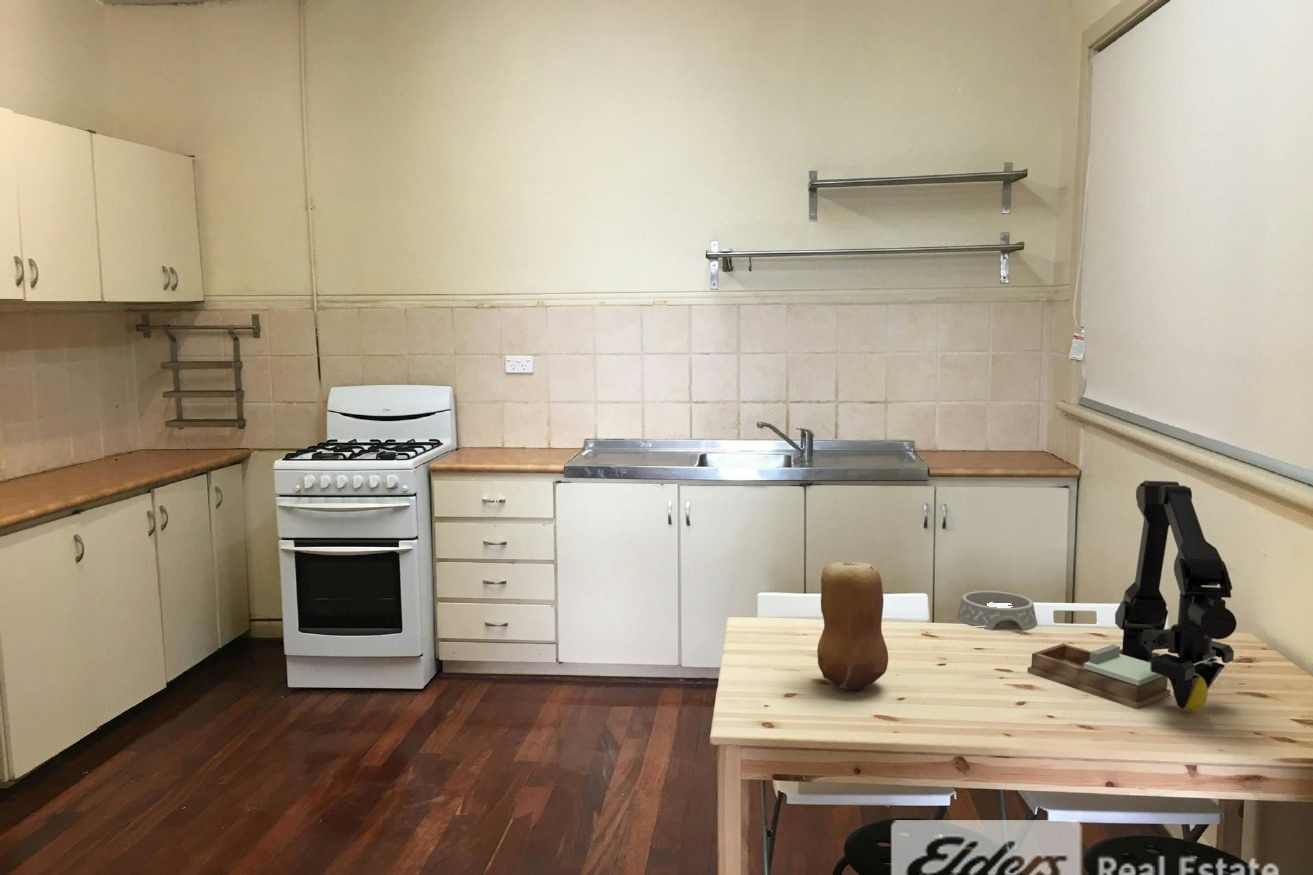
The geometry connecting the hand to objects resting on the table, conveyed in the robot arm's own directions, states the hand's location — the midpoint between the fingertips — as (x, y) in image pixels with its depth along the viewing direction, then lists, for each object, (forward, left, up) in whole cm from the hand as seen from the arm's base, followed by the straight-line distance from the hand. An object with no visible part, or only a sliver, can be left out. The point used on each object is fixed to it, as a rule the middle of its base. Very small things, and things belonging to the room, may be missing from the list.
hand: (1189, 703), depth 182 cm
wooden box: (0, -18, -2) cm, 18 cm away
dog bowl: (-19, -55, -2) cm, 58 cm away
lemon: (0, 0, -2) cm, 2 cm away
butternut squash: (+42, -44, -2) cm, 61 cm away
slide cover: (0, -12, +3) cm, 12 cm away
